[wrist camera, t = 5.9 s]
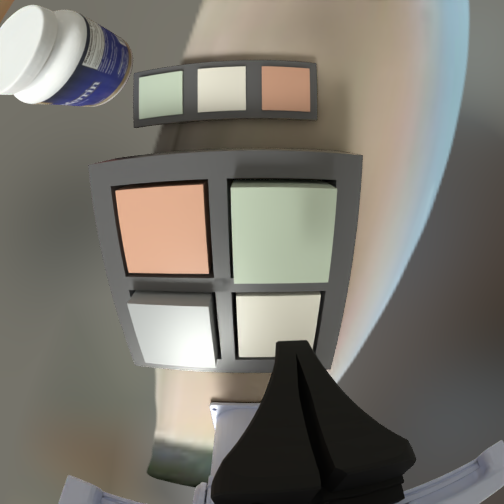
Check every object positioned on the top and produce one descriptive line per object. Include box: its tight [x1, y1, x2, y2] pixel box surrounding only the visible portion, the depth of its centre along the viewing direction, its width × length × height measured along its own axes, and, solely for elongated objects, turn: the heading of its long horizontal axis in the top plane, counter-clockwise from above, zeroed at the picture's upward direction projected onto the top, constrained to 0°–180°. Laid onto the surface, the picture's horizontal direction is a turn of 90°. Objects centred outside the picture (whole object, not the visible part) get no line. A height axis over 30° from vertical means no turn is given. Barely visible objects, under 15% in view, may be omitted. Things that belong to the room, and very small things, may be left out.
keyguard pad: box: [88, 148, 363, 373], centre depth 19 cm, size 16×16×4 cm
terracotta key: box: [115, 179, 213, 274], centre depth 17 cm, size 5×5×3 cm
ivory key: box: [236, 291, 321, 357], centre depth 20 cm, size 5×5×3 cm
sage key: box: [231, 179, 337, 284], centre depth 16 cm, size 5×5×3 cm
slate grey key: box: [127, 290, 220, 368], centre depth 19 cm, size 5×5×3 cm
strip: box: [133, 60, 317, 128], centre depth 15 cm, size 12×4×1 cm, turn 90°
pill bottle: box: [0, 5, 133, 107], centre depth 10 cm, size 6×6×10 cm
